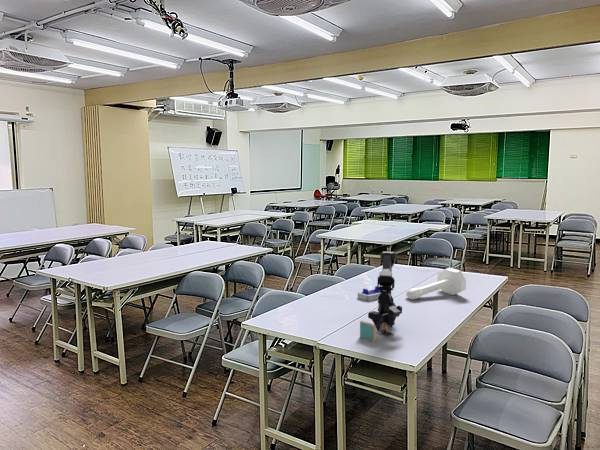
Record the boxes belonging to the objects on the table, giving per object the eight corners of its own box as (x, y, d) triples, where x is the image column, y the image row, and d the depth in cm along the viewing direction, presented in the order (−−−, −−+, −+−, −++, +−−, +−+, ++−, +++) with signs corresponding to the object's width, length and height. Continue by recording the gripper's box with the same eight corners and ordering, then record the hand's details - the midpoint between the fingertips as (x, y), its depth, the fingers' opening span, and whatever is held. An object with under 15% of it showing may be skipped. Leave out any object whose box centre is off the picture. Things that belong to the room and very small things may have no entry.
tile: (359, 336, 227) (359, 321, 226) (362, 336, 228) (362, 320, 227) (372, 342, 220) (373, 326, 219) (375, 341, 221) (375, 325, 220)
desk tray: (356, 298, 295) (356, 292, 294) (376, 294, 305) (376, 288, 305) (368, 302, 287) (368, 296, 286) (388, 297, 297) (388, 291, 297)
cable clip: (367, 299, 291) (367, 290, 290) (362, 297, 295) (362, 288, 294) (381, 296, 298) (381, 287, 297) (376, 294, 301) (376, 286, 301)
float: (375, 333, 233) (375, 322, 232) (382, 330, 236) (382, 319, 235) (387, 337, 227) (387, 326, 226) (394, 335, 230) (394, 324, 229)
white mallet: (395, 282, 302) (438, 268, 314) (403, 308, 301) (445, 293, 313) (416, 281, 279) (462, 266, 291) (424, 309, 278) (469, 293, 290)
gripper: (384, 306, 217) (383, 338, 219) (410, 299, 228) (409, 329, 230) (367, 301, 226) (367, 331, 228) (393, 294, 237) (392, 323, 239)
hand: (384, 329), depth 231 cm, fingers open, 9 cm apart
